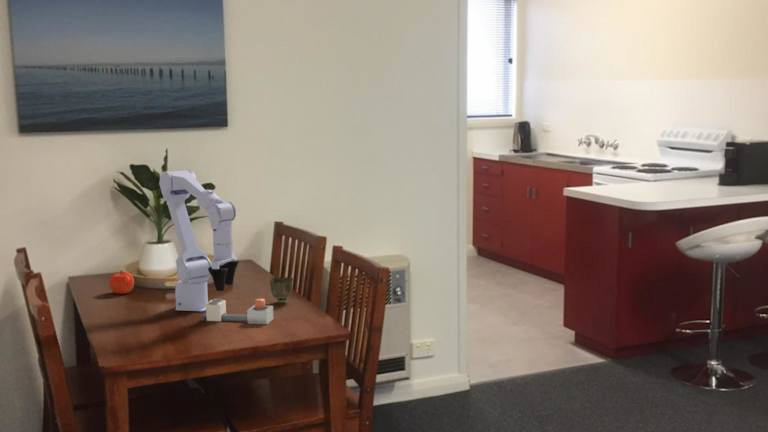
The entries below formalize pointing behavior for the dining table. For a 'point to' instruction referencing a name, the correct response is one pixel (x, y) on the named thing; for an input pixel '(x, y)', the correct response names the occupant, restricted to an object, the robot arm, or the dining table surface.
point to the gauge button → (259, 303)
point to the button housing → (260, 315)
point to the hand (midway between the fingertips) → (224, 287)
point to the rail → (230, 317)
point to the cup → (281, 289)
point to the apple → (121, 283)
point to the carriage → (215, 309)
